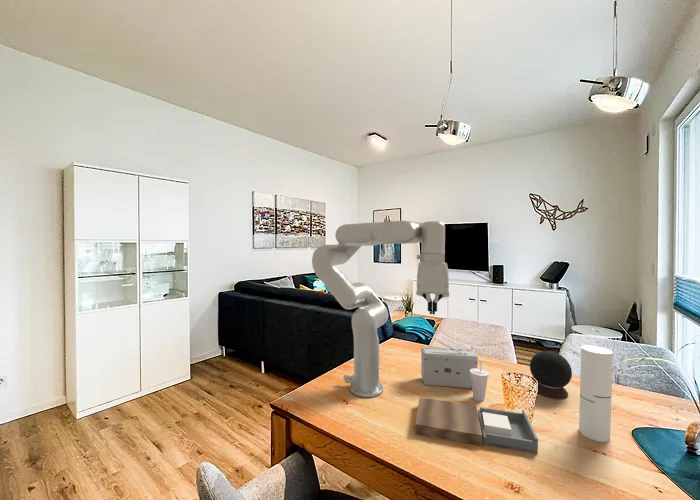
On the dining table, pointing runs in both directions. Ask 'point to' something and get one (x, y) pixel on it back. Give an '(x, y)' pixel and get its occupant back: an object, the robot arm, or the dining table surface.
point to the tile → (496, 424)
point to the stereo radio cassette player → (447, 366)
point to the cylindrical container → (595, 392)
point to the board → (448, 421)
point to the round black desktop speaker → (551, 374)
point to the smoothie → (479, 382)
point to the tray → (512, 432)
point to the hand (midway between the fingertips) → (432, 313)
